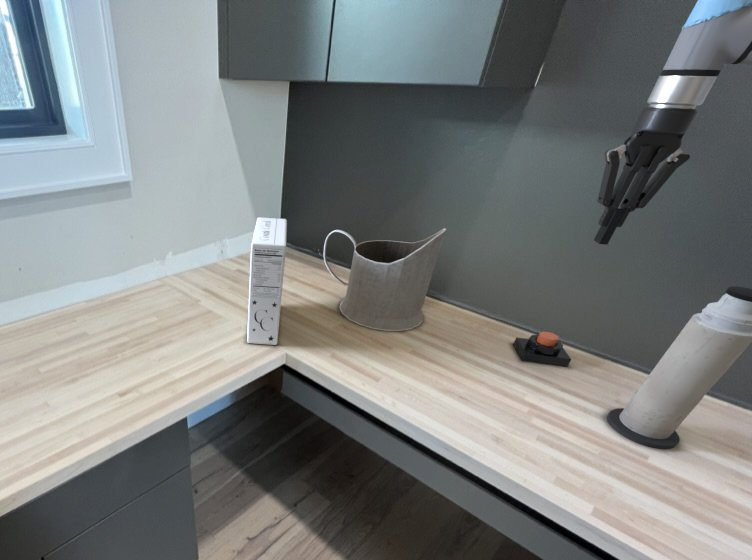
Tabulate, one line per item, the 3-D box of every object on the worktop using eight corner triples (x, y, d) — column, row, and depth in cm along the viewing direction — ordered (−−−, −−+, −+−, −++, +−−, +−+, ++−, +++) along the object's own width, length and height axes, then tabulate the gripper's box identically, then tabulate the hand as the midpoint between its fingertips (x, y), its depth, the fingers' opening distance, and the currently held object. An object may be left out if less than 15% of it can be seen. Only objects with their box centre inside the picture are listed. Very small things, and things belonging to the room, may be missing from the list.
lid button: (551, 340, 103) (555, 332, 102) (557, 348, 100) (561, 340, 98) (533, 337, 104) (537, 330, 102) (539, 345, 100) (542, 338, 99)
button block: (555, 350, 106) (563, 336, 104) (567, 367, 100) (575, 352, 97) (512, 344, 108) (519, 330, 105) (521, 360, 102) (528, 346, 99)
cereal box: (253, 306, 122) (257, 217, 107) (278, 307, 122) (286, 218, 107) (246, 343, 105) (251, 243, 90) (277, 345, 104) (286, 245, 90)
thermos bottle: (659, 417, 84) (766, 285, 67) (678, 443, 78) (801, 305, 61) (612, 408, 86) (706, 278, 69) (627, 433, 80) (734, 297, 63)
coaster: (657, 416, 85) (660, 413, 85) (690, 453, 77) (693, 450, 76) (597, 407, 87) (599, 404, 87) (622, 442, 79) (624, 439, 78)
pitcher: (408, 339, 108) (438, 242, 94) (300, 307, 122) (311, 218, 108) (431, 308, 124) (459, 221, 109) (333, 282, 138) (346, 202, 123)
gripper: (701, 107, 75) (627, 240, 89) (619, 104, 77) (559, 234, 91) (730, 109, 69) (645, 251, 83) (639, 106, 72) (572, 244, 85)
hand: (600, 242), depth 87 cm, fingers closed
